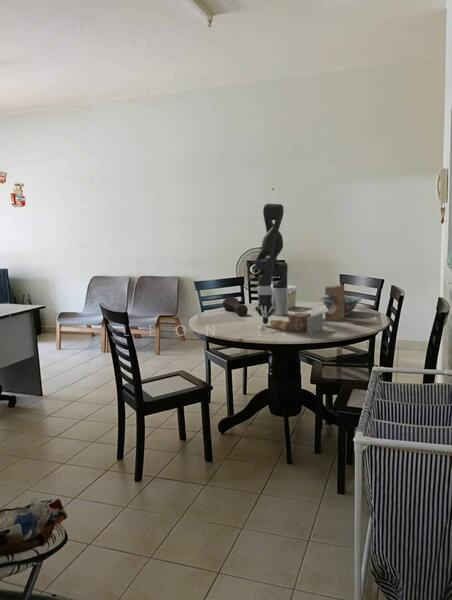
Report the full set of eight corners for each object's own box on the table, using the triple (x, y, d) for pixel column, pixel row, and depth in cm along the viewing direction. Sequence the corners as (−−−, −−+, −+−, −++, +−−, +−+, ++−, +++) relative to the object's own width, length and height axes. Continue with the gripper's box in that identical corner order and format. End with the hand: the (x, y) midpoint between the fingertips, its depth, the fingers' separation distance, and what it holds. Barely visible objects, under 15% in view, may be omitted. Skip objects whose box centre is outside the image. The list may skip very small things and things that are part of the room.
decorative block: (331, 321, 279) (331, 287, 275) (324, 320, 283) (324, 286, 280) (344, 319, 285) (345, 285, 282) (337, 317, 289) (337, 284, 286)
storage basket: (298, 306, 332) (297, 285, 330) (285, 310, 320) (284, 288, 317) (269, 304, 347) (269, 283, 345) (256, 307, 335) (255, 286, 333)
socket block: (289, 330, 258) (288, 315, 257) (297, 326, 266) (297, 312, 265) (302, 331, 254) (302, 317, 252) (310, 328, 262) (310, 313, 260)
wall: (307, 334, 250) (307, 317, 248) (319, 328, 261) (319, 312, 259) (310, 334, 249) (310, 317, 247) (322, 329, 260) (322, 312, 258)
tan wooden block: (270, 327, 269) (270, 320, 268) (273, 326, 272) (273, 319, 271) (286, 329, 263) (286, 322, 262) (289, 328, 266) (289, 321, 266)
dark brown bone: (226, 312, 332) (240, 324, 307) (219, 299, 328) (233, 311, 302) (239, 303, 334) (254, 315, 308) (232, 291, 330) (247, 302, 304)
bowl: (369, 312, 302) (369, 297, 300) (345, 318, 285) (345, 303, 284) (335, 308, 320) (335, 294, 319) (312, 314, 304) (312, 299, 302)
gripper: (251, 293, 271) (252, 323, 274) (271, 295, 263) (272, 325, 266) (258, 292, 277) (259, 321, 280) (278, 293, 269) (279, 323, 272)
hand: (265, 323), depth 273 cm, fingers closed
